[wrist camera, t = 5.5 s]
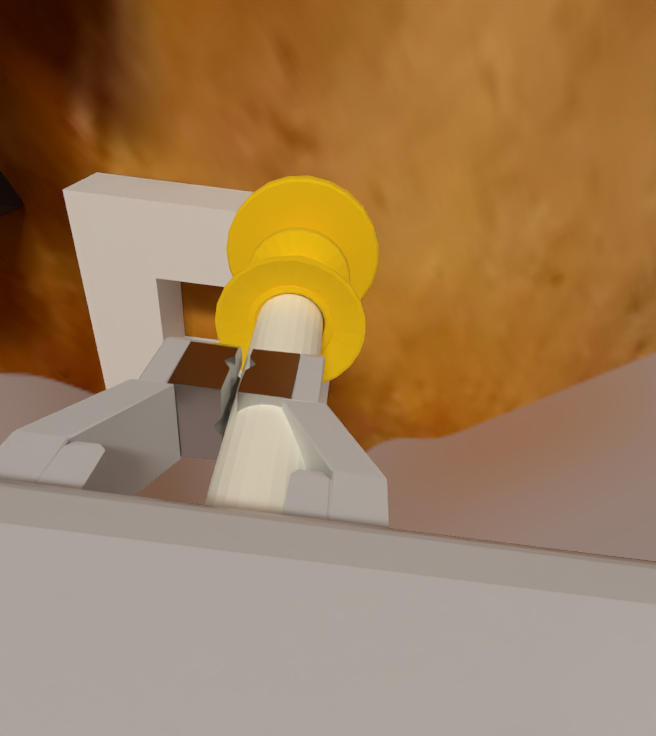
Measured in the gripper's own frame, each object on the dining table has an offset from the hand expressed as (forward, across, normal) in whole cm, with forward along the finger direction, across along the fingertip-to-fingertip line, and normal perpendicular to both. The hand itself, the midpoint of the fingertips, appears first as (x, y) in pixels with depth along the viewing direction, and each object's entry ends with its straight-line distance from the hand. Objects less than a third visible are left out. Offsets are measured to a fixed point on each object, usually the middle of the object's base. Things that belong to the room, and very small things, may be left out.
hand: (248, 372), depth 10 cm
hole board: (+22, +6, +10) cm, 25 cm away
